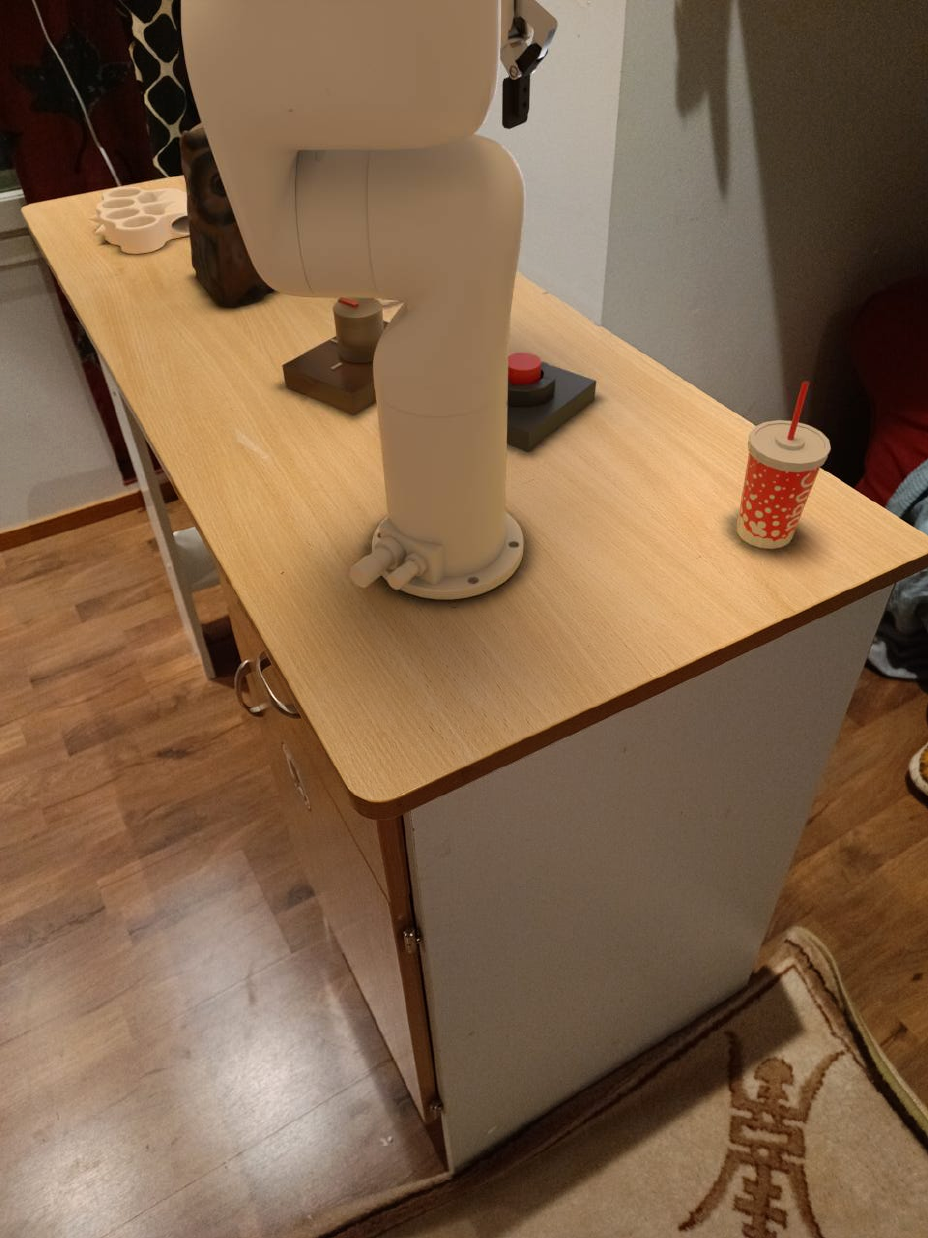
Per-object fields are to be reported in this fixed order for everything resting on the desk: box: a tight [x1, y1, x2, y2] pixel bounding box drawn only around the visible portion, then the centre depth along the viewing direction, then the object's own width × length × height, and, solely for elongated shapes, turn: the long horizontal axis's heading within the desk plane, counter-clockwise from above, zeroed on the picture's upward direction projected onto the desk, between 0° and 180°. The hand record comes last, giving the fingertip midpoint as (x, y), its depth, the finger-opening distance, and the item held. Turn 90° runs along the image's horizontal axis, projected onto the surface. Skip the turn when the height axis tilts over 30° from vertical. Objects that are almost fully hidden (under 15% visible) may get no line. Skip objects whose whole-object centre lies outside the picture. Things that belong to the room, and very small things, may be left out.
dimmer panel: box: [281, 320, 390, 416], centre depth 94 cm, size 14×10×3 cm
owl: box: [179, 121, 275, 309], centre depth 104 cm, size 13×13×20 cm
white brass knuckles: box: [88, 186, 190, 255], centre depth 125 cm, size 3×18×15 cm
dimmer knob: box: [332, 298, 384, 363], centre depth 91 cm, size 5×5×5 cm
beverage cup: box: [736, 380, 832, 550], centre depth 69 cm, size 6×6×14 cm
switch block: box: [507, 360, 597, 453], centre depth 88 cm, size 12×10×4 cm
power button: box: [508, 351, 542, 385], centre depth 86 cm, size 4×4×2 cm
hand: (473, 116), depth 83 cm, fingers open, 9 cm apart
